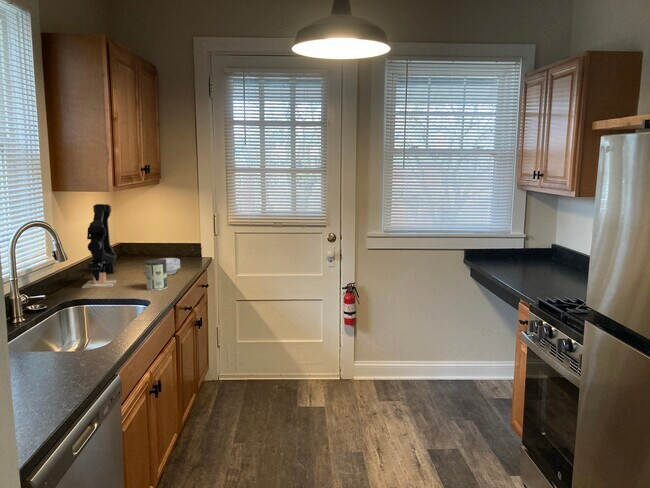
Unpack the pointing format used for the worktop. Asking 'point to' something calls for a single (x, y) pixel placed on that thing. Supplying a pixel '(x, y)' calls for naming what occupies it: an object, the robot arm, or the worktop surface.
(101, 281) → the terracotta cube
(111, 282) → the striped cloth
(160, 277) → the coffee can
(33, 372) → the worktop surface
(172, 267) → the paper bowls
